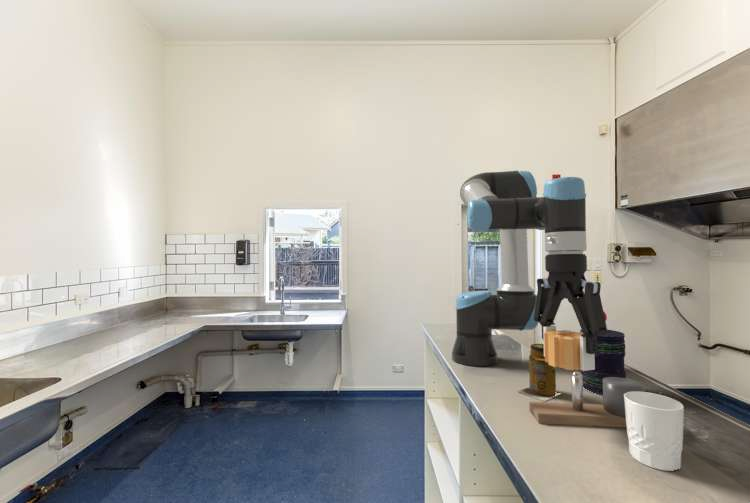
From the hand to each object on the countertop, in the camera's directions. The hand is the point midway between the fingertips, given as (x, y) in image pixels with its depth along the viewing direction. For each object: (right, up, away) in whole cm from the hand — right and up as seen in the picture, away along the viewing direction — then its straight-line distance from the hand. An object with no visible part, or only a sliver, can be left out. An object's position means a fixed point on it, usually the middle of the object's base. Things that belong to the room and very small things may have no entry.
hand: (567, 362), depth 70 cm
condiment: (+2, -14, +17) cm, 22 cm away
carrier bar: (+6, -13, +2) cm, 14 cm away
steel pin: (+4, -11, +2) cm, 12 cm away
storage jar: (+20, -13, +18) cm, 30 cm away
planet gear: (0, 0, 0) cm, 0 cm away
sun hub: (+13, -11, +1) cm, 17 cm away
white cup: (+8, -13, -12) cm, 19 cm away
